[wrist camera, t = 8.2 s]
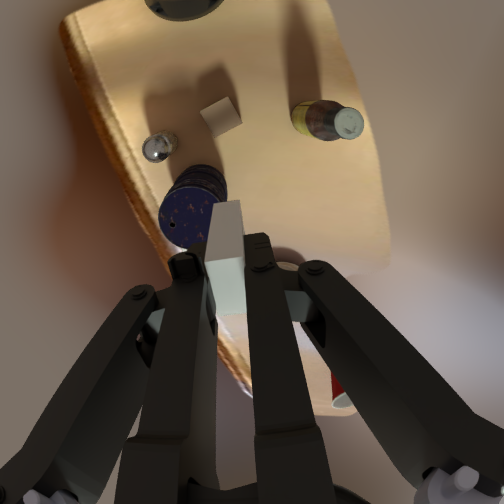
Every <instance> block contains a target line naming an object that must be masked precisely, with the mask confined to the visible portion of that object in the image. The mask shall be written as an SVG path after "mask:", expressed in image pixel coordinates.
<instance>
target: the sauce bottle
mask: <svg viewBox="0 0 504 504" xmlns="http://www.w3.org/2000/svg"><path fill="white" fill-rule="evenodd" d="M291 121H292V123H293V126H294V127H295V129H296V130H297V131H299V132H300V133H302V134H304V135H307V136H310V137H313V138H317V139H320V140H323V141H334V140H337V139H339V138H342V139H350V140H351V139H355V138H357V137H359V135H361V133H362V131H363V128H364V120H363V117H362V115H361V114H360V113H359V112H358V111H357V110H356V109H354V108H350V107H344V106H342V105H341V104H339V103H338V102H335V101H329V100H318V101H308V102H303V103H300V104H299V105H297V106H296V107H295V108H294V109H293V112H292V116H291Z"/></svg>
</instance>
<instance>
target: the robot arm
mask: <svg viewBox="0 0 504 504" xmlns="http://www.w3.org/2000/svg"><path fill="white" fill-rule="evenodd" d="M144 1H145V3H146V5H147V6H148V8H149V9H150V10H151V11H152V12H153V13H154V14H156V15H157V16H159V17H161V18H163V19H166V20H170V21H189V20H194V19H198V18H200V17H203V16H205V15H207V14H209V13H210V12H212V11H213V10H215V9H216V8H217V7H218V6H219V5H220V4H221V3H222V2H223V1H224V0H144ZM168 266H169V269H170V272H171V275H172V279H173V281H172V285H171V286H170V287H168V288H166V289H163V290H160V291H157V292H155V289H154V287H153V286H151V285H147V284H144V285H138V286H135V287H134V288H132V289H130V290H129V291H128V292H127V293H126V294H125V295H124V296H123V298H122V299H121V300H120V302H119V303H118V304H117V306H116V307H115V308H114V310H113V311H112V312H111V313H110V315H109V316H108V317H107V319H106V320H105V322H104V323H103V324H102V326H101V327H100V328H99V330H98V331H97V332H96V334H95V335H94V337H93V338H92V339H91V341H90V342H89V344H88V345H87V346H86V348H85V349H84V351H83V352H82V353H81V355H80V356H79V358H78V359H77V361H76V362H75V364H74V365H73V366H72V368H71V370H70V371H69V373H68V374H67V375H66V377H65V379H64V380H63V381H62V383H61V384H60V386H59V388H58V389H57V391H56V392H55V394H54V395H53V397H52V398H51V400H50V402H49V403H48V405H47V406H46V408H45V410H44V412H43V413H42V414H41V416H40V418H39V420H38V421H37V423H36V424H35V426H34V428H33V430H32V431H31V433H30V435H29V436H28V438H27V440H26V442H25V444H24V445H23V447H22V449H21V450H20V451H19V452H18V453H17V454H16V455H15V456H13V457H12V458H11V460H9V461H8V462H7V463H6V464H5V465H4V466H3V467H2V468H1V469H0V504H96V503H97V501H98V500H99V498H100V496H101V494H102V492H103V490H104V488H105V487H106V484H107V482H108V480H109V477H110V475H111V473H112V471H113V468H114V466H115V464H116V461H117V459H118V457H119V455H120V453H121V450H122V455H121V460H120V467H119V473H118V479H117V485H116V492H115V500H114V504H370V503H369V502H368V501H366V500H365V499H363V498H362V497H360V496H358V495H357V494H356V493H354V492H352V491H350V490H348V489H346V488H344V487H342V486H339V485H336V484H333V482H332V478H331V474H330V469H329V464H328V459H327V455H326V450H325V446H324V441H323V437H322V433H321V430H320V428H319V426H318V425H317V424H316V421H315V418H314V413H313V409H312V404H311V400H310V395H309V391H308V387H307V382H306V378H305V374H304V370H303V365H302V361H301V357H300V353H299V348H298V344H297V340H296V336H295V332H294V328H293V324H292V321H295V322H300V324H301V327H302V328H303V330H304V331H305V333H306V334H307V336H308V337H309V339H310V340H311V342H312V343H313V345H314V346H315V348H316V349H317V351H318V352H319V354H320V355H321V357H322V358H323V360H324V361H325V363H326V364H327V366H328V367H329V369H330V370H331V372H332V373H333V375H334V376H335V378H336V379H337V381H338V382H339V384H340V385H341V387H342V388H343V390H344V391H345V393H346V394H347V396H348V397H349V398H350V400H351V401H352V403H353V404H354V406H355V407H356V409H357V410H358V412H359V413H360V415H361V416H362V418H363V419H364V421H365V422H366V424H367V425H368V427H369V428H370V430H371V431H372V432H373V434H374V436H375V437H376V439H377V440H378V442H379V443H380V445H381V446H382V448H383V449H384V451H385V452H386V454H387V455H388V456H389V458H390V460H391V461H392V462H393V464H394V465H395V467H396V468H397V469H398V471H399V472H400V473H401V474H402V476H403V477H404V478H405V479H406V480H407V481H408V482H409V483H410V484H411V485H412V486H413V487H415V488H416V489H417V491H416V494H415V497H414V504H499V501H500V500H501V498H502V497H503V496H504V429H502V428H500V427H498V426H497V425H495V424H493V423H491V422H489V421H488V420H486V419H484V418H482V417H480V416H479V415H477V414H475V413H474V412H473V411H472V410H471V409H470V407H469V406H468V405H467V404H466V403H465V402H464V401H463V400H462V398H461V397H459V395H458V394H457V393H456V392H455V391H454V390H453V388H452V387H451V386H450V385H449V384H448V383H447V382H446V381H445V380H444V379H443V378H442V376H441V375H440V374H439V373H438V372H437V371H436V370H435V369H434V368H433V367H432V366H431V365H430V364H429V363H428V361H427V360H426V359H425V358H424V357H423V356H422V355H421V354H420V353H419V352H418V351H417V350H416V349H415V348H414V347H413V346H412V345H411V344H410V343H409V341H407V339H406V338H405V337H404V336H403V335H402V334H401V333H400V332H399V331H398V330H397V329H396V328H395V327H394V326H393V325H392V324H391V323H390V322H389V321H388V320H387V319H386V318H385V317H384V316H383V315H382V314H381V313H380V312H379V311H378V310H377V309H376V308H375V307H374V306H373V305H372V304H371V303H370V302H369V301H368V300H367V299H366V298H365V297H364V296H363V295H362V294H361V293H360V292H359V291H358V290H357V289H355V287H353V286H352V285H351V284H350V283H349V282H348V281H347V280H346V279H345V278H344V277H343V276H342V275H341V274H340V273H339V272H338V271H337V270H336V269H335V268H334V267H333V266H332V265H330V264H329V263H327V262H325V261H321V260H311V261H307V262H304V263H302V264H301V265H300V266H299V267H298V271H290V270H285V269H282V268H280V267H279V266H278V264H277V263H276V262H275V259H274V255H273V251H272V247H271V243H270V239H269V236H268V235H266V234H265V233H264V232H262V233H255V234H248V235H245V232H244V225H243V219H242V212H241V206H240V200H234V201H228V202H221V203H215V204H214V205H213V211H212V217H211V223H210V229H209V235H208V241H205V242H199V243H193V244H192V245H191V246H190V247H189V248H188V249H187V251H185V252H181V253H178V254H176V255H174V256H172V257H171V258H170V259H169V260H168ZM216 311H217V315H218V316H227V315H235V314H242V313H247V324H248V338H249V352H250V365H251V379H252V392H253V405H254V416H255V417H254V418H255V436H254V447H255V462H256V474H257V482H256V483H252V484H249V485H245V486H242V487H238V488H235V489H231V490H226V491H224V490H220V486H219V481H218V477H217V474H216V372H217V337H218V323H217V319H216V316H215V315H216ZM138 334H140V336H141V337H140V339H139V340H138V341H137V340H136V339H137V336H138ZM142 405H143V406H142ZM141 407H142V411H141V417H140V422H139V428H138V432H137V434H136V435H135V436H134V437H130V438H128V439H127V437H128V435H129V433H130V430H131V429H132V426H133V424H134V422H135V420H136V418H137V416H138V413H139V411H140V409H141ZM126 439H127V440H126ZM122 448H123V449H122Z"/></svg>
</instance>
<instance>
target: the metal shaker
mask: <svg viewBox="0 0 504 504" xmlns="http://www.w3.org/2000/svg"><path fill="white" fill-rule="evenodd" d="M176 147H177V138H176V136H175V135H174V134H173V133H172V132H170V131H161V132H159V133H157V134H154V135H152V136H150V137H148V138H147V139H146V140H145V141H144V143H143V146H142V152H143V155H144V157H145V158H146V159H147V160H148V161H150V162H153V163H159V162H161V161H163V160H164V159H166V158H167V157H168V156H169V155H170V154H171V153H173V152H174V151H175V149H176Z"/></svg>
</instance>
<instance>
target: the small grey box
mask: <svg viewBox="0 0 504 504" xmlns="http://www.w3.org/2000/svg"><path fill="white" fill-rule="evenodd" d="M200 113H201V115H202V117H203V118H204V120H205V122H206V124H207V125H208V127H209V129H210V131H211V132H212V134H213V136H214V138H215V137H217V136H219V135H221V134H223V133H225V132H227V131H228V130H230V129H232V128H234V127H236V126H238V125H240V124H242V121H241V119H240V117H239V115H238V114H237V112H236V110H235V108H234V106H233V105H232V103H231V101H230V99H229V97H226V98H224V99H222V100H220V101H218V102H216V103H214V104H212V105H211V106H209V107H207V108H205V109H203V110H201V111H200Z"/></svg>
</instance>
